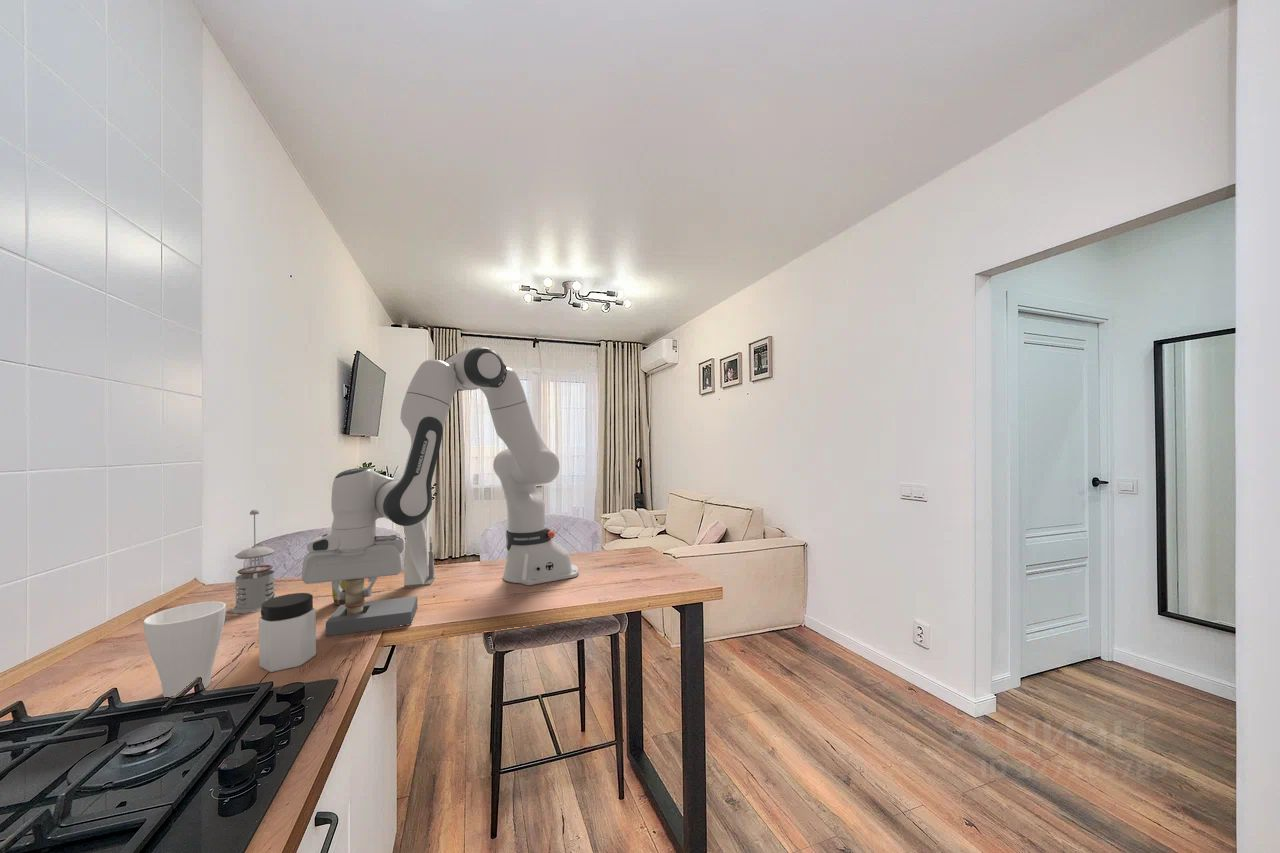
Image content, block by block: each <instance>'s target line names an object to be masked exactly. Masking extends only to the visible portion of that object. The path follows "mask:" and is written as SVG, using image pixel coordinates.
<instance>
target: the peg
mask: <svg viewBox="0 0 1280 853" xmlns="http://www.w3.org/2000/svg"><path fill="white" fill-rule="evenodd" d="M364 588H365V578H361V579H351V580H345V607H347V615H355V614H363V604H364V603H365V602H366V601H365V597H363V594H364V593H363V590H364Z"/></svg>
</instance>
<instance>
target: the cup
mask: <svg viewBox="0 0 1280 853" xmlns="http://www.w3.org/2000/svg"><path fill="white" fill-rule="evenodd" d="M226 609H227V604H226V603H224V602H223V601H201V602H195V603H189V604H184V605H178V606H175V607H171V608H167V609H164V610H161V611H158V612H156V613H153V614H151V615H149V616H148V617H146V618H145V619H144V620H143V622H142V623H143V629H144V630H143V632H144V637H145V641H146V644H147V645H146V646H147V648H148V651H149V654H150V657H151V659H152V661H153V664H154V666H155V669H156V670H157V674H158V677H159V680H160V684H161V690H162V696H163V697H164V698H165V697H171V696H174V695H175V694H178V693H179V692H181V691H182V690H183V689H184V688H186V686H188V685H189V684H190V683H191V682H193V681H194V680H195V679H196V678H197V677H201V678H202V683H203V685H204V687H205V689H206V688H208V687H209V686H210V685H211V683H212V674H213V673H212V672H213V668H214V663H215V660H216V659H215V658H216V655H217V650H218V648H219V645H220V642H221V638H222V635H223V629H224V625H225V620H226V611H227V610H226Z"/></svg>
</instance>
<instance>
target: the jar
mask: <svg viewBox="0 0 1280 853" xmlns="http://www.w3.org/2000/svg"><path fill="white" fill-rule="evenodd" d="M313 597H314V596H313V594H311V593H309V592H308V593H307V592H295V593H288V594H283V595H278V596H275V598H272V599H269V600H267V601H265V602H264V603H263V604H262V605H261V611H260V615H261V617H258V642H259V643H258V645H259V649H258V650H259V651H258V653H259V654H258V655H259V660H258V661H259V667H260V668H263V669H264V670H266V671H268V672H269V673H275V672H280V671H283V670H288V669H293V668H298V667H300V666H302V665H303V664H305V663H306V662H308V661H309V660H311V659H312V658H314V657H316V655H317V638H316V637H317V634H316V629H317V628H316V627H317V626H316V623H317V622H316V621H317V620H316V608H314V601H313V599H314V598H313Z"/></svg>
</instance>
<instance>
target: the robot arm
mask: <svg viewBox="0 0 1280 853" xmlns="http://www.w3.org/2000/svg"><path fill="white" fill-rule="evenodd" d="M478 389H479V390H480V391H482V393H483V394H484V396H485V398H486V401H487V405H488V409H489V412H490V415H491V419H492V423H493V426H494V430H495V433H496V435H497V436H498V438H499V439H501V440H502V441H503V443H504V444H505V445H506V447H507V448H506V449H504V450H501V451H499V452H498V453H497V454H496V455H495V457H494V460H493V464H492V465H493V470H494V471H493V472H494V473H495V474H496V476H497V477H498V479H499V481H500V483H501V487H502V489H503V490H502V491H503V493H504V498H505V501H506V502H505V503H506V510H507V511H506V512H507V514H506V516H507V530H506V533H505V547H506V551H507V552H506V561H505V568H504V572H503V574H502V580H504V581H506V582H509V583H514V584H515V583H516V584H522V585H526V586H532V585H537V584H543V583H549V582H554V581H555V582H556V581H561V580H566V579H570V578H575V577H578V576H579V568H578V566H577V565H575V563H572V561H571V556H570V554H569V551H568V550H567V549H566V548H564V547H563V546H561V545H560V544H558V543H557V542H555V541H554V540H553V539H554V538H555V537H556V536H555V535H556V534H555V531H553V530H552V529H550V528H547V527H546V512H545V510H546V507H545V502H544V499H543V498H542V497H541V495H540V494H539V491H538V489H537V486H541V485H546V484H549V483H552V482H553V481H554V480H555V479H556V478H557V477H558V475H559V472H560V461H559V458H558V456H557V455H556V454H555V453H554V452H553V451H552V450H550V449H549V447H547V445H546V443H545V442H544V440H543V439H542V437H541V435H540V433H539V432H538V430H537V428H536V426H535V423H534V421H533V418H532V413H531V410H530V407H529V403H528V401H527V396H526V394H525V390H524V387H523V385H522V383H521V380H520V379H519V376H518V374H517V373H516V371H515V370H514V369H512V368H511V367H507V365H505V363H504V361H503V359H502V358H501V356H500V354H499V353H498V352H496V351H495V350H493V349H491V348H489V347H482V346H479V347H475V348H468V349H464V350H461V351H459V352H457V353H454V354H450V355H449V356H447V357H446V358H445V359H444V360H440V359H427V360H425V361H423V362H422V363H421V364H420V365H419V367H418V368H417V370H416V371H415V373H414V375H413V377H412V378H411V380H410V383H409V385H408V388H407V390H406V391H405V392H406V393H405V395H404V397H403V401H402V404H401V409H400V421H401V423H402V425H403V427H404V428H405V429H406V430H407V431H408V433H409V436H410V440H411V441H410V442H411V444H410V447H409V448H410V449H409V452H408V456H407V459H406V464H405V466H404V470H403V473H402V476H401V478H400V479H397V478H393V477H389V476H386V475H384V474H381V473H379V472H377V471H375V470H373V469H372V468H370V467H365V466H363V467H356V468H355V467H354V468H351V469H347V470H346V469H345V470H344V471H341V472H339V473H338V474H336V476H334V479H333V482H332V488H331V499H330V500H331V513H332V514H333V515H332V516H333V518H332V520H333V521H332V524H331V532H328V533H325V534H323V535H320V536H317V537H316V538H313V539H312V540H310V541H309V542H308V543H307V545H306V550H307V551H308V553H306V554H305V556H304V559H303V562H302V569H301V580H302V581H303V583H304V584H305V585H309V584H311V585H312V584H319V583H329V582H331V588H332V587H333V588H334V590H335V591H336V592H337V595H338V600H343V599H345V590H343V589H342V588H341V586H340V585H339V584H340V583H341V580H351V579H361V578H364V579H368V580H367V581H368V583H369V585H368V586H367V587H364V590H363V593H364V594H363V597H364V598H367V597H372V595H373V594H372V593H373V589H372V588H373V587H374V585H375V583H376V581H377V580H378V578H380V577H388V576H389V577H390V576H391V577H392V576H399V574H400V573H401V572H402V571H403V570H404V558H403V555H402V554H403V551H404V550H405V541H404V540H403V538H402V537H401V536H397V535H396V534H392V535H376V534H377V529H376V527H377V526H376V525H377V524H376V523H377V520H378V519H380V518H385V519H387V520H389V521H391V522H393V523H394V524H395V525H398V526H401V527H402V526H411V525H414V524H417V523H419V522H420V521H422V520H423V519H424V518H425V517H426V516H427V517H428V516H429V512H430V511H431V509H432V505H433V493H432V492H433V490H432V483H433V478H434V477H433V476H434V473H435V469H436V464H437V461H438V457H439V453H440V448H441V444H442V439H443V434H444V430H445V429H444V428H445V424H446V421H447V417H448V414H449V412H450V408H451V407H452V403H453V399H454V396H455V395H456V393H457V391H459V392H461V391H474V390H478Z"/></svg>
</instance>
